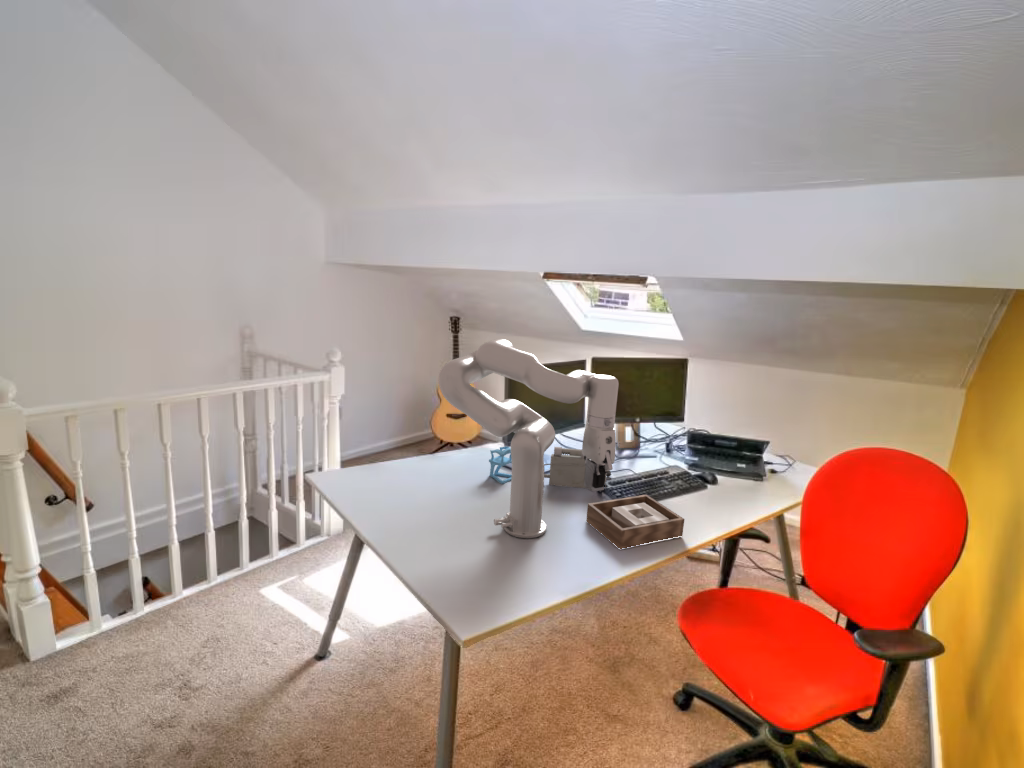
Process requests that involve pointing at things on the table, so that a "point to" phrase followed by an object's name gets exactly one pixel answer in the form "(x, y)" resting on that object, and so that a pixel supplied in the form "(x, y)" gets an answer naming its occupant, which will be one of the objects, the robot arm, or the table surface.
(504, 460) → the chair
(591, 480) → the metal peg
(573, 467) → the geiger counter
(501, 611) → the table surface
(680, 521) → the walnut box
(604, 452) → the robot arm
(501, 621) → the table surface
